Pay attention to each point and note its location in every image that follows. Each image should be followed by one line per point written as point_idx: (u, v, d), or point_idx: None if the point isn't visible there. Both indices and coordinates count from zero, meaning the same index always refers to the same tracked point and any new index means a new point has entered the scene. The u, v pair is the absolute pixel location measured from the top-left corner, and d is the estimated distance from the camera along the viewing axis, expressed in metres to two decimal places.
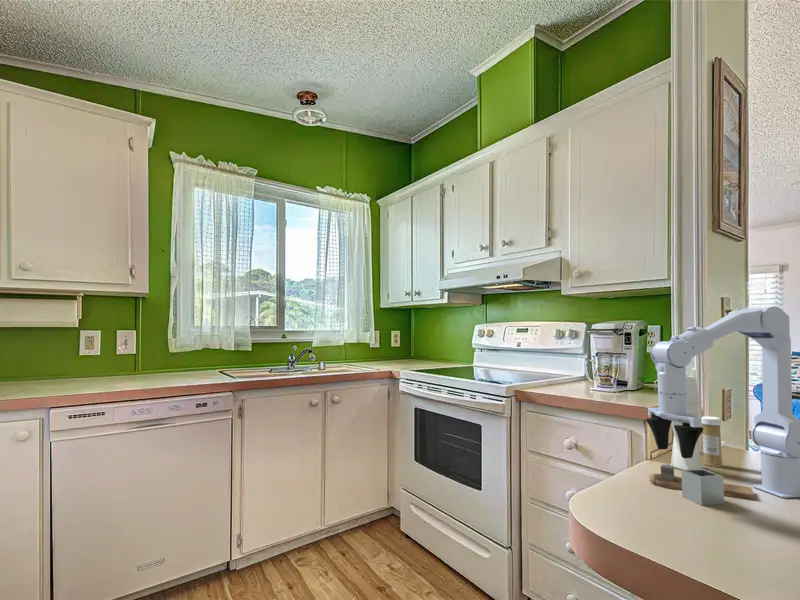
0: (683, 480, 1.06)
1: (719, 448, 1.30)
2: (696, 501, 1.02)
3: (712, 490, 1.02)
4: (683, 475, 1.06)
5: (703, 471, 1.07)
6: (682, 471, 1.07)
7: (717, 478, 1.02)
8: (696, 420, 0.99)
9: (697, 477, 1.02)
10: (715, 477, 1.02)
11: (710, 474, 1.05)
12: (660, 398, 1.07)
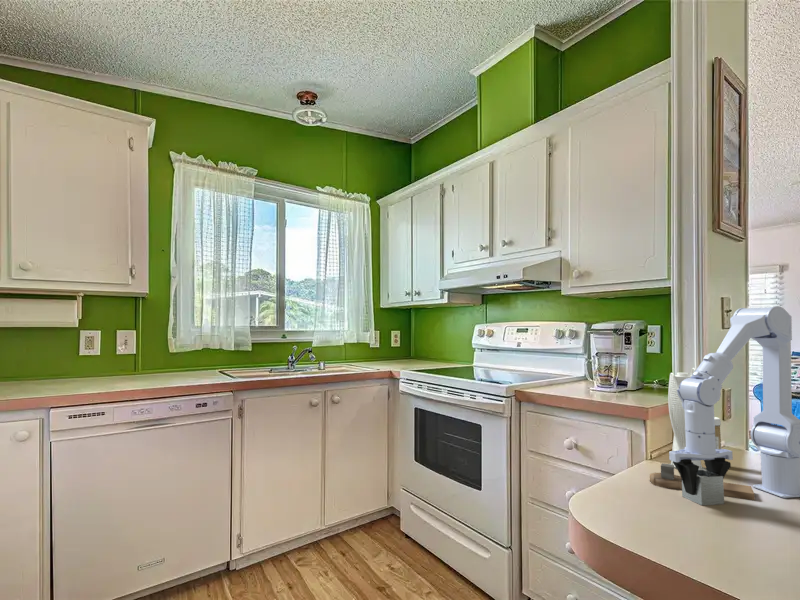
0: None
1: (719, 448, 1.30)
2: (696, 501, 1.02)
3: (712, 490, 1.02)
4: None
5: (703, 471, 1.07)
6: None
7: (717, 478, 1.02)
8: (671, 454, 1.04)
9: (697, 477, 1.02)
10: (715, 477, 1.02)
11: (710, 474, 1.05)
12: None
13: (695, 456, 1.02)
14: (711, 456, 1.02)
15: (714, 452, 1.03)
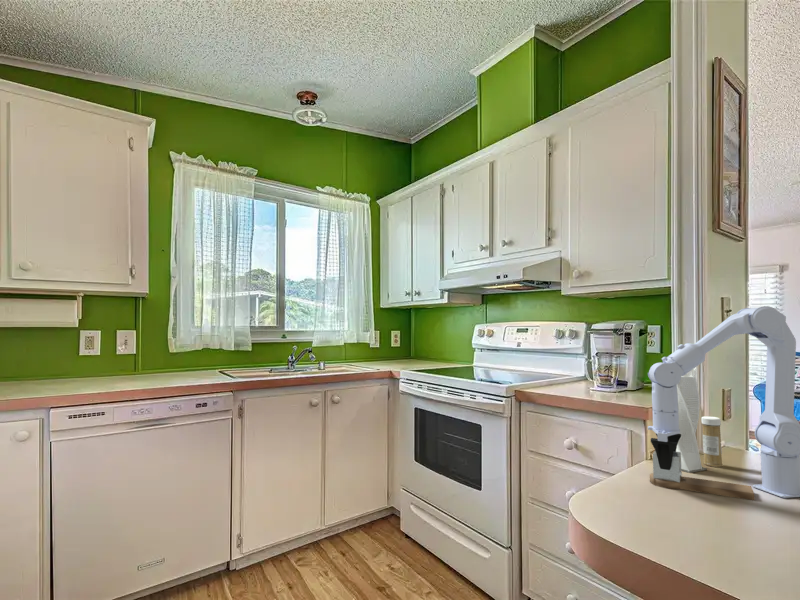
0: (655, 463, 1.15)
1: (719, 448, 1.30)
2: (672, 480, 1.13)
3: (680, 467, 1.14)
4: (655, 458, 1.15)
5: None
6: (654, 455, 1.15)
7: (680, 455, 1.16)
8: (661, 435, 1.11)
9: (674, 458, 1.13)
10: (680, 454, 1.15)
11: None
12: None
13: (674, 433, 1.13)
14: (679, 431, 1.15)
15: None
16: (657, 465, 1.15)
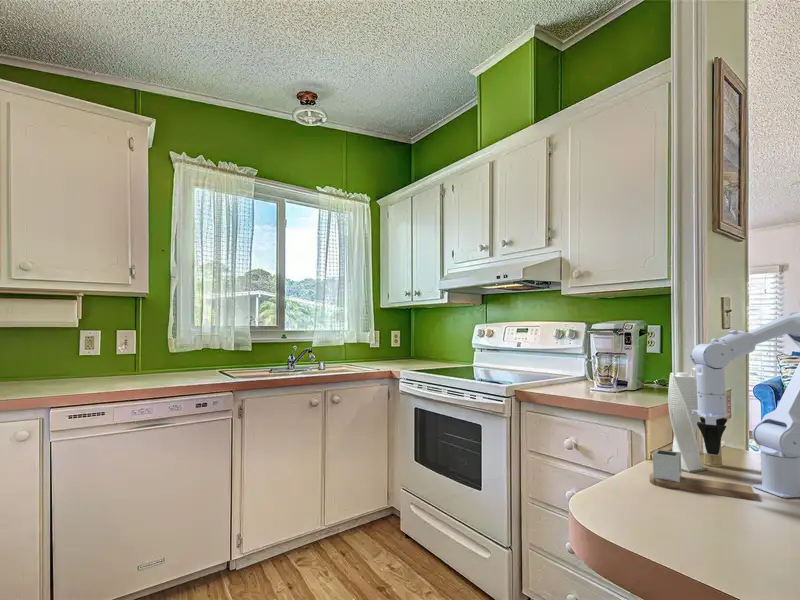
0: (655, 463, 1.15)
1: None
2: (672, 480, 1.13)
3: (680, 467, 1.14)
4: (655, 458, 1.15)
5: (659, 451, 1.19)
6: (654, 455, 1.15)
7: (680, 455, 1.16)
8: (709, 418, 1.06)
9: (674, 458, 1.13)
10: (680, 454, 1.15)
11: (668, 453, 1.18)
12: None
13: (722, 416, 1.08)
14: None
15: None
16: (657, 465, 1.15)
